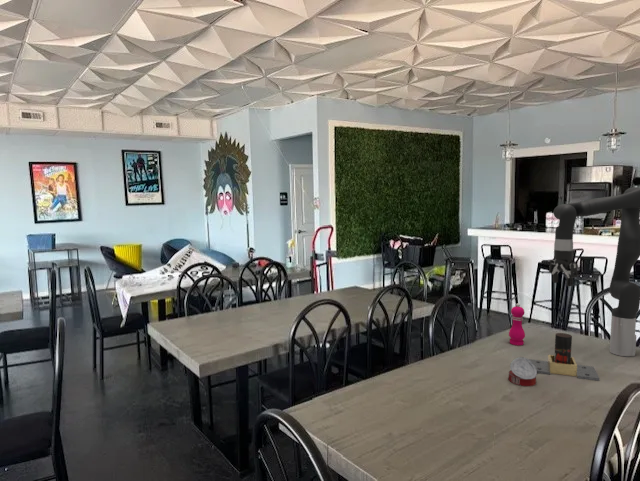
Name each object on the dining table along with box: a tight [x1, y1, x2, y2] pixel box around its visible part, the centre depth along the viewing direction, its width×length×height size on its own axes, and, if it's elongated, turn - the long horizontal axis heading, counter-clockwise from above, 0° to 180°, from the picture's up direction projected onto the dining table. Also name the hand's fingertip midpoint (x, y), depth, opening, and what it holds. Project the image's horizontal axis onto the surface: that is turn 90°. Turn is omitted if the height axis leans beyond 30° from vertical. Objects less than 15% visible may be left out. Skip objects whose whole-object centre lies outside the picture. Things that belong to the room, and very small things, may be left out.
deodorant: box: [554, 332, 573, 364], centre depth 188 cm, size 6×6×15 cm
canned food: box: [508, 356, 538, 387], centre depth 178 cm, size 11×10×10 cm
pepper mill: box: [508, 303, 526, 347], centre depth 221 cm, size 7×7×20 cm
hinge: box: [528, 354, 600, 382], centre depth 188 cm, size 25×13×4 cm, turn 68°
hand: (562, 284), depth 207 cm, fingers open, 8 cm apart
